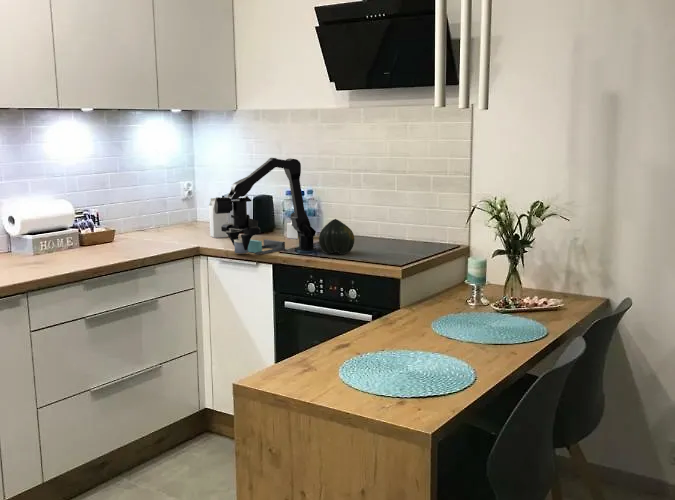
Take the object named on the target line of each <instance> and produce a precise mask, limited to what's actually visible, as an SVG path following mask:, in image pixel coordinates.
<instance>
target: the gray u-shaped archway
mask: <svg viewBox="0 0 675 500" xmlns="http://www.w3.org/2000/svg"><path fill="white" fill-rule="evenodd" d="M265 248H266V249H267V250H262V251H259V252H256V253H255V255H257V256H258V255H259V256H260V255H264V254H269V253H275V252H280V251H285V250H286V241H280V240H274V239H269V238H267V239H266V238H265V239H263V244H262V249H265Z"/></svg>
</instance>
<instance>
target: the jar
mask: <svg viewBox="0 0 675 500" xmlns="http://www.w3.org/2000/svg"><path fill="white" fill-rule="evenodd" d="M234 246H235V247H234ZM233 247H234V253H235V254H247V253H249V252H248V249H247V250H244V246H243V242H242V238H238V239H234V245H233Z"/></svg>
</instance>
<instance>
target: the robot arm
mask: <svg viewBox="0 0 675 500" xmlns="http://www.w3.org/2000/svg"><path fill="white" fill-rule="evenodd" d="M275 168H279V169H283V170H284V172H285V176H286V177H287V180H288V182H289V188H290V194H291V199H292V206H293V211H294V212H293V213H294V216H293V217H291V216H290V222H291V221H292V226H293V227H294V229H295V230H296V231H297V233H298V234H300V235H299V239H298V247H296V249H297V250H301V251H310V250H317V247H315V246H314V245H315V244H314V237H315V236H316V233H317V231H316V230H315V229H314V228H313V227H312V225H311V221H310V219H309V216H308V215H307V213H306V211H305V205H304V199H303V193H302V186H301V181H300V180H301V179H300V178H301V173H302V165H301V161H300V160H298V159H297V158H285V159H281V158H276V157H270V158H268V159H267V160H266V161H265V162H264V163H262V164H261V165H260V166H259V167H257V168H256V169H255V170H253V172H251V173H250V174H249V175H247V176H246V177H243V178H240V179H239V180H236V181H235V182H233V183H232V184H231V186H230V191H229V192H228V194H227V195H226V197H221V196H219V197H218V196H217V197H215V198H216V200H215V205H214V210H215V213H216V214H224V213H227V214H230V213H231V212H232V214H231V215H230V218H231V219H232V218H233V220H232V221H233V223H228V224H223V225H222V227H221V231H224V232H226V231H227V232H226V234H227V235H228V238H229V240H230V241H231V243H232V245H233V247H234V248H235V246H234V239H239V235H240V237H241V238H240V239H242V242H243V246H244V250H247V249H248V245H249V242H250V239H251V240H252V238H253V237H254V236H255V235H258V234H261V228H260V227H259V226H258V224H259V220H256V219H254V218H250V217H251V216H250V214H248V210H247V209H248V207H247V204H248V203H247V202H252V201H253V200H252V199H251V198H250V197H249V196H248V195H247V194H248V193H249V192H250V191H251V189H252V188H253V187H254V185H255V184H256V183H257V182H259V181H260V180H261V179H262V178H264V177H265V176H266V175H268V174H269V173H270V172H271V171H273V170H274V169H275ZM241 232H243V233H242V234H241Z"/></svg>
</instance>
